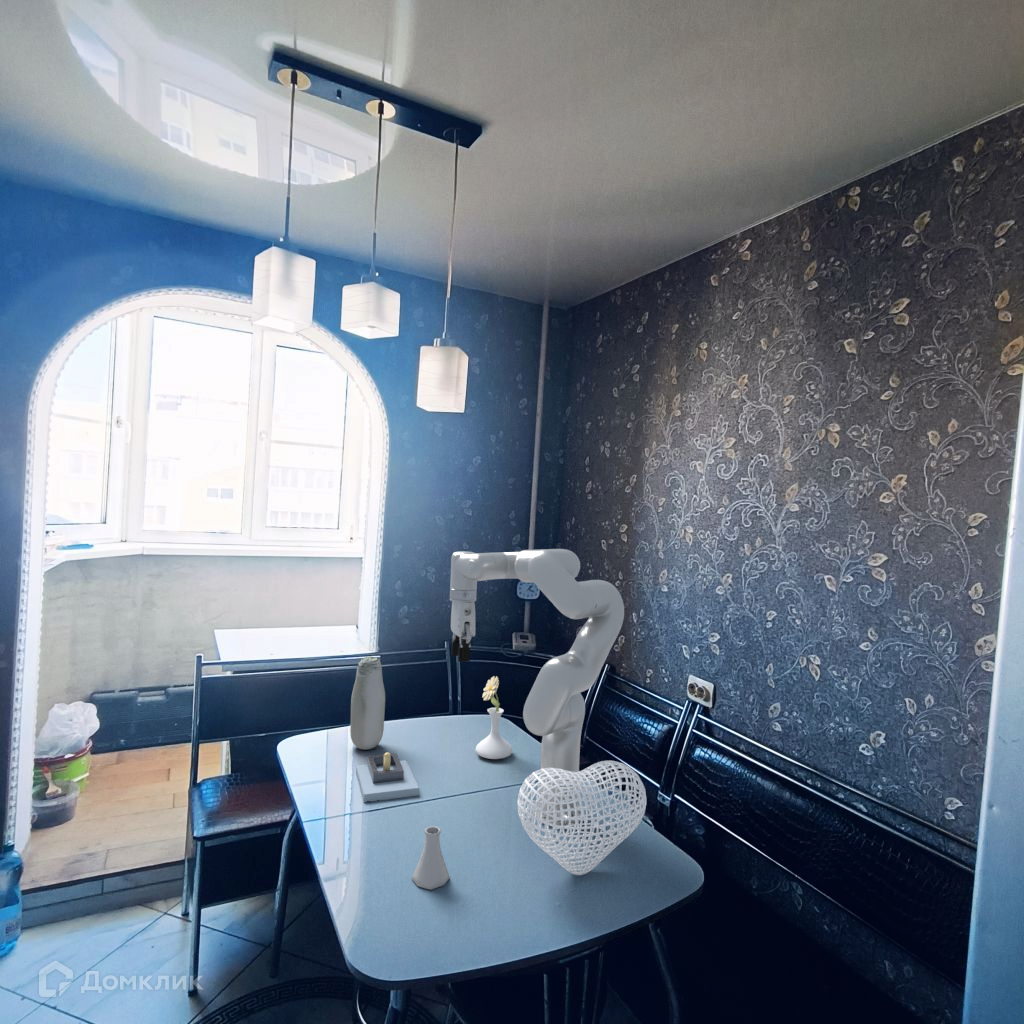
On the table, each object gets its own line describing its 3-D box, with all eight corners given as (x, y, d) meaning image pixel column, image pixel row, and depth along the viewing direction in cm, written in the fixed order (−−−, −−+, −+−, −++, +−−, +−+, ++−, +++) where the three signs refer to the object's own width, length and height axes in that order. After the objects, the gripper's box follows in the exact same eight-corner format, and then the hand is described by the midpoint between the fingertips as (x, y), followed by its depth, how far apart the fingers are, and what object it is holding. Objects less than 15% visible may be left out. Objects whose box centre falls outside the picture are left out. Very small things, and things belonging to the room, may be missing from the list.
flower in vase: (476, 747, 194) (480, 667, 194) (513, 748, 193) (516, 669, 193) (472, 764, 181) (476, 679, 181) (511, 766, 180) (514, 681, 180)
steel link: (403, 780, 164) (403, 770, 164) (373, 783, 161) (373, 774, 161) (395, 762, 175) (396, 753, 175) (367, 765, 172) (367, 756, 172)
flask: (431, 864, 129) (433, 817, 129) (456, 878, 125) (458, 829, 125) (405, 880, 124) (407, 830, 124) (430, 895, 119) (432, 843, 119)
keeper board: (418, 795, 160) (419, 763, 160) (363, 802, 155) (364, 769, 155) (405, 767, 177) (406, 738, 177) (355, 772, 172) (357, 742, 172)
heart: (531, 909, 116) (536, 792, 116) (503, 864, 130) (508, 760, 130) (658, 883, 126) (662, 775, 126) (619, 843, 140) (623, 747, 140)
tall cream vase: (350, 742, 193) (354, 653, 193) (383, 741, 195) (387, 653, 195) (348, 754, 184) (351, 661, 183) (382, 753, 186) (386, 661, 185)
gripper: (485, 599, 168) (482, 665, 168) (467, 590, 184) (464, 650, 184) (458, 600, 165) (455, 666, 165) (442, 591, 181) (440, 651, 181)
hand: (460, 657), depth 174 cm, fingers open, 6 cm apart
